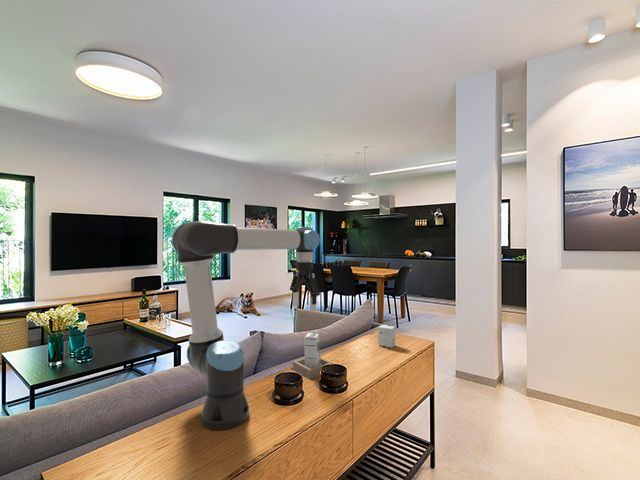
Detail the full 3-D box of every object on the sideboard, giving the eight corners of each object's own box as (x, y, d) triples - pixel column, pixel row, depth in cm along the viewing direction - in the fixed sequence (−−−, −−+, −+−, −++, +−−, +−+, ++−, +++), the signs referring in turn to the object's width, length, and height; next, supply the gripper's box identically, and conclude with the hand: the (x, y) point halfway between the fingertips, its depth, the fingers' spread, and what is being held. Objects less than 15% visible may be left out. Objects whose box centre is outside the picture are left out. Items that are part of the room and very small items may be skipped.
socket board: (309, 378, 136) (309, 371, 136) (290, 368, 147) (290, 361, 147) (334, 370, 144) (334, 363, 144) (315, 360, 155) (315, 354, 155)
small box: (395, 345, 178) (395, 326, 178) (392, 348, 173) (392, 328, 173) (381, 343, 182) (381, 324, 182) (378, 346, 177) (378, 326, 177)
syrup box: (317, 370, 142) (317, 337, 142) (304, 369, 144) (304, 336, 144) (319, 365, 148) (319, 333, 148) (307, 364, 149) (307, 332, 149)
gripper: (328, 262, 138) (327, 312, 138) (296, 259, 158) (295, 303, 157) (314, 263, 133) (313, 315, 133) (282, 260, 153) (282, 305, 153)
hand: (303, 309), depth 145 cm, fingers open, 13 cm apart
